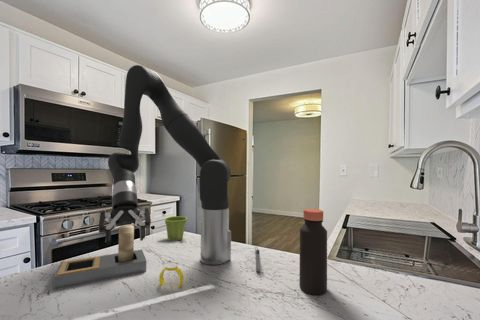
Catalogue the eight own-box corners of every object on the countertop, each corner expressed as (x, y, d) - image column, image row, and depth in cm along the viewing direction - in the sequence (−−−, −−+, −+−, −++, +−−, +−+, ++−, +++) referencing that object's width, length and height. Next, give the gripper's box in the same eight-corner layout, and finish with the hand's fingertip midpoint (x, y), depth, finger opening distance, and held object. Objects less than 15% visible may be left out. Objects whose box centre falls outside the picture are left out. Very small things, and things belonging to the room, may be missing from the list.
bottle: (294, 284, 62) (294, 209, 62) (314, 280, 64) (314, 207, 65) (311, 298, 56) (311, 213, 56) (333, 292, 58) (333, 212, 59)
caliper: (259, 273, 69) (259, 251, 69) (255, 273, 69) (256, 251, 69) (257, 248, 89) (257, 232, 89) (254, 248, 89) (254, 232, 90)
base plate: (141, 262, 75) (142, 248, 75) (146, 274, 66) (146, 259, 67) (60, 276, 65) (60, 261, 65) (52, 293, 56) (53, 276, 56)
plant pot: (166, 235, 103) (166, 216, 104) (187, 235, 104) (188, 216, 105) (161, 242, 94) (161, 221, 94) (185, 242, 95) (185, 220, 95)
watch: (183, 288, 60) (185, 265, 60) (179, 294, 57) (181, 270, 57) (162, 284, 61) (164, 261, 61) (156, 289, 58) (158, 266, 58)
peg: (132, 264, 71) (133, 224, 71) (133, 269, 68) (134, 227, 68) (117, 266, 69) (118, 226, 69) (118, 272, 66) (119, 229, 66)
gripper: (100, 190, 73) (97, 238, 62) (148, 189, 80) (153, 231, 69) (100, 205, 77) (97, 251, 67) (146, 202, 84) (150, 244, 74)
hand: (126, 241), depth 68 cm, fingers open, 8 cm apart
